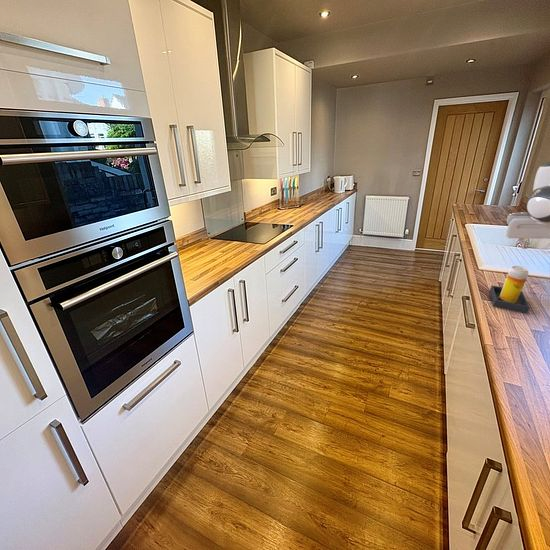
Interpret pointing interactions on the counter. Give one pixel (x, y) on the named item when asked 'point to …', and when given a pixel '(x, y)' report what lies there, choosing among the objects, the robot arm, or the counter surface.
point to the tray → (517, 306)
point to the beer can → (513, 284)
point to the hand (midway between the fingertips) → (542, 248)
